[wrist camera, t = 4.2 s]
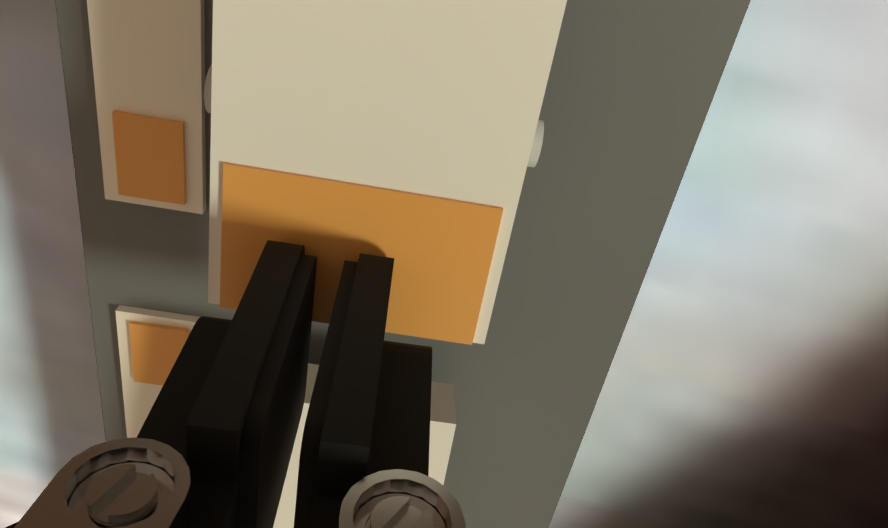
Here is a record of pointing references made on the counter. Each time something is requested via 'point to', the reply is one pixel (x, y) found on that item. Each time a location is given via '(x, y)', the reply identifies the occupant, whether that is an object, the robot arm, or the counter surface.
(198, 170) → the switch unit
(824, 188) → the counter surface
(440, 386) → the switch middle
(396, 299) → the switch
